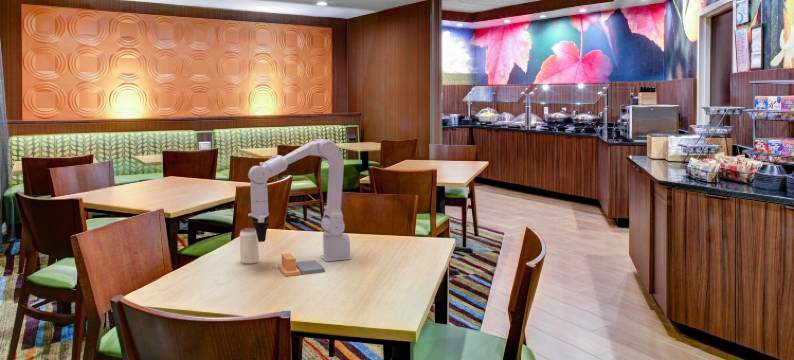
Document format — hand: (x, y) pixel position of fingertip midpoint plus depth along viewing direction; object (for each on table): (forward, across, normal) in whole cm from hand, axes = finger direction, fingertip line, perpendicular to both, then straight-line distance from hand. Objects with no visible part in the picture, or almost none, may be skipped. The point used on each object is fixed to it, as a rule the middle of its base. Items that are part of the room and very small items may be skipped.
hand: (261, 239), depth 213 cm
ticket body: (+10, +7, +15) cm, 20 cm away
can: (+10, -9, -4) cm, 14 cm away
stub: (+10, +8, +8) cm, 15 cm away
